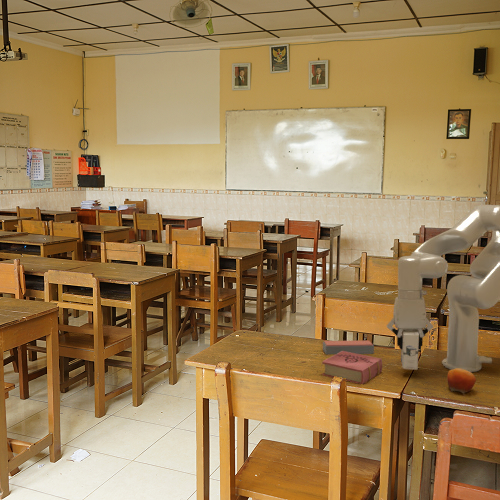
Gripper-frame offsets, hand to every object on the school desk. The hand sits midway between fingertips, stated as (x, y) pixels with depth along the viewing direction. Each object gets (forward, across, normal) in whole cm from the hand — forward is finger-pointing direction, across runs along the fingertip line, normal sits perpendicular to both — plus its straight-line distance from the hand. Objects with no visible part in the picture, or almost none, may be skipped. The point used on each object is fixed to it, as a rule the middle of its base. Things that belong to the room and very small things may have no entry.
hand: (409, 347), depth 177 cm
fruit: (+9, -13, +14) cm, 21 cm away
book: (+9, +19, +3) cm, 21 cm away
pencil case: (+9, +19, -22) cm, 30 cm away
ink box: (+6, 0, 0) cm, 6 cm away
